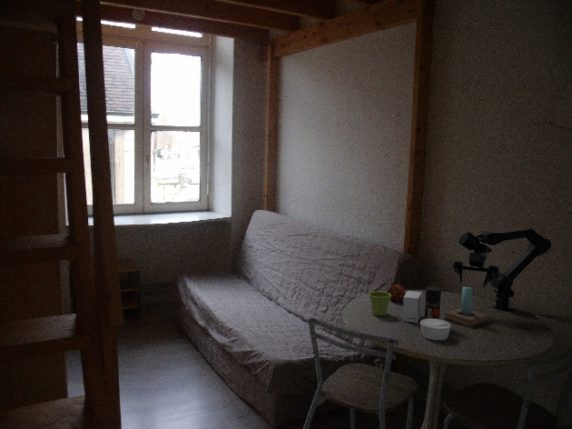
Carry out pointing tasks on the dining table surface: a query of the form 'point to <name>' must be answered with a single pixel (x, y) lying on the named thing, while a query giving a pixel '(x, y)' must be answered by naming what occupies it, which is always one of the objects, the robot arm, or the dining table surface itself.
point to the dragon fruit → (396, 292)
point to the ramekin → (435, 329)
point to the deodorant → (432, 303)
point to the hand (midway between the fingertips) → (472, 285)
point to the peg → (466, 301)
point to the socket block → (465, 318)
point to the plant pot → (379, 302)
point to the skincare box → (412, 306)
